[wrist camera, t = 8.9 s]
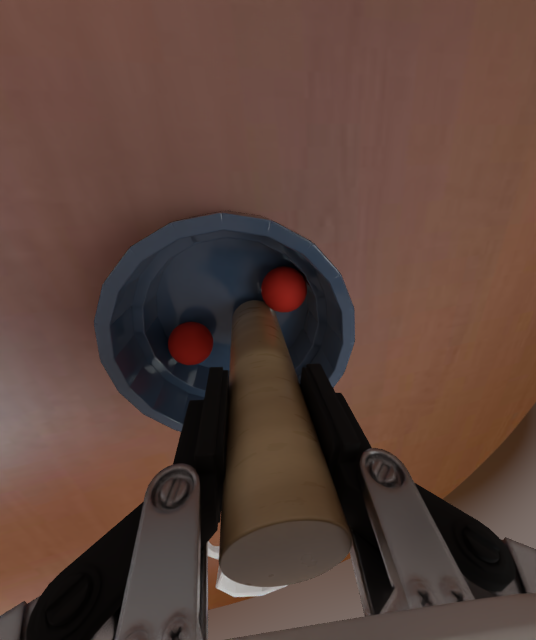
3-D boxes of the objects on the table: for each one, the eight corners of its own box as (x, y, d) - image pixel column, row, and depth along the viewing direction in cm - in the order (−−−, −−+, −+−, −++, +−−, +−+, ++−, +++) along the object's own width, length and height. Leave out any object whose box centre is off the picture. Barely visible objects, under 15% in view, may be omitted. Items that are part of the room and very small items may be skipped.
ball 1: (165, 326, 18) (152, 348, 15) (200, 307, 17) (193, 326, 15) (189, 356, 19) (181, 381, 16) (222, 338, 19) (220, 361, 16)
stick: (223, 313, 17) (189, 557, 5) (263, 291, 16) (323, 500, 5) (246, 346, 18) (260, 599, 7) (283, 327, 18) (369, 557, 6)
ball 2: (248, 281, 17) (258, 282, 14) (284, 259, 17) (301, 255, 14) (270, 317, 18) (283, 324, 15) (303, 295, 18) (322, 299, 15)
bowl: (96, 275, 16) (26, 309, 11) (272, 169, 15) (292, 148, 9) (209, 401, 22) (200, 465, 16) (344, 334, 20) (382, 380, 15)
